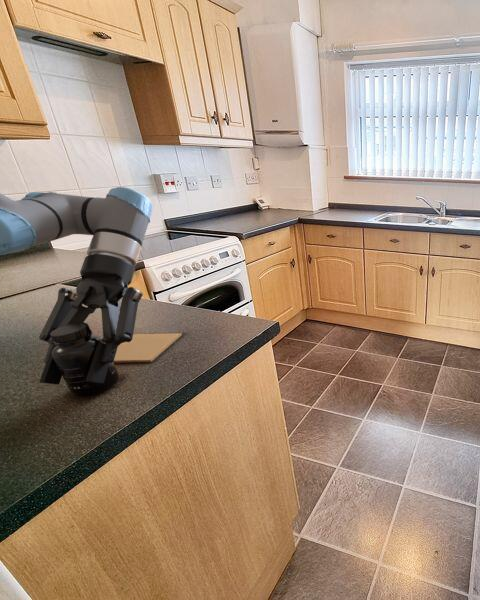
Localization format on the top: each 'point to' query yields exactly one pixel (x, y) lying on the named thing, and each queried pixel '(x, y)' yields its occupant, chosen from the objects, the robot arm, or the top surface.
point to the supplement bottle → (79, 359)
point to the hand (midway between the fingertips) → (72, 382)
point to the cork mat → (144, 347)
